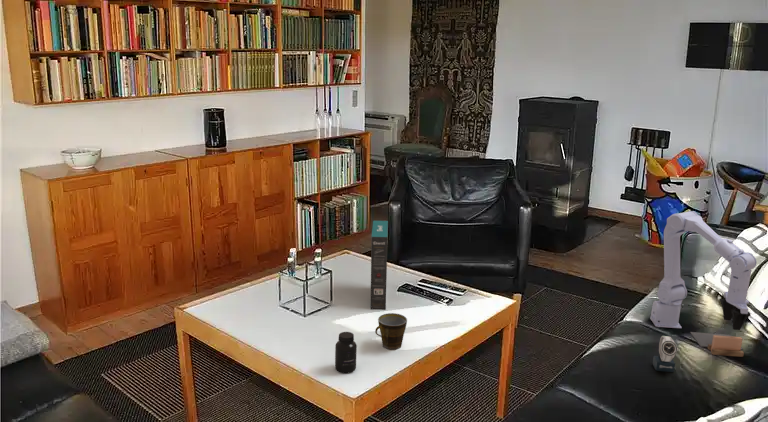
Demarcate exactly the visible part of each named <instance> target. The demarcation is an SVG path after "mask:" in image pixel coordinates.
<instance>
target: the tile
mask: <svg viewBox="0 0 768 422" xmlns="http://www.w3.org/2000/svg"><path fill="white" fill-rule="evenodd" d="M742 345H743V338H742V337H741V336H732V335H731V336H718V335H713V340H712V346H711V350H710V352H711V351H712V349H723V350H736V351H742V350H741V347H742Z"/></svg>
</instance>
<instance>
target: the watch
mask: <svg viewBox="0 0 768 422" xmlns="http://www.w3.org/2000/svg"><path fill="white" fill-rule="evenodd" d="M678 351H679V348H678V346H677V344H676V343H675V341H674V339H673V338H672V337H671V336H665V335H662V336H661V337H660V339H659V342H658V355H659V356H658V355H653V359H652V366H653V368H654V369H655V371H656V372H664V373H665V372H667V373H674V372H675V365H676V363H675V361H674V360H673V358H674V357H675V356H676V354H677V352H678Z"/></svg>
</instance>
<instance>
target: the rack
mask: <svg viewBox="0 0 768 422" xmlns="http://www.w3.org/2000/svg"><path fill="white" fill-rule="evenodd" d="M711 346H712V344H708V347H707V350H708V351H710V353H711V354H712V355H714V356H715V355H716V356H728V357H739V358H740V357H741V358H743V357H744V354H745V353H744V351H743V350H740V351H736V350H723V349H712V351H711Z"/></svg>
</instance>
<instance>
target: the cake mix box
mask: <svg viewBox="0 0 768 422" xmlns="http://www.w3.org/2000/svg"><path fill="white" fill-rule="evenodd" d="M371 228H372V229H371V244H370V246H371V248H370V251H371V256H370V257H371V258H370V259H371V260H370V310H373V311H374V310H377V311H379V310H380V311H382V310H383V311H386V310H387V309H386V308H387V275H388V274H387V273H388V272H387V270H388V266H387V265H388V235H389V233H388V231H389V229H388V228H389V221H388V220H373V221H372V227H371Z"/></svg>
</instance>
